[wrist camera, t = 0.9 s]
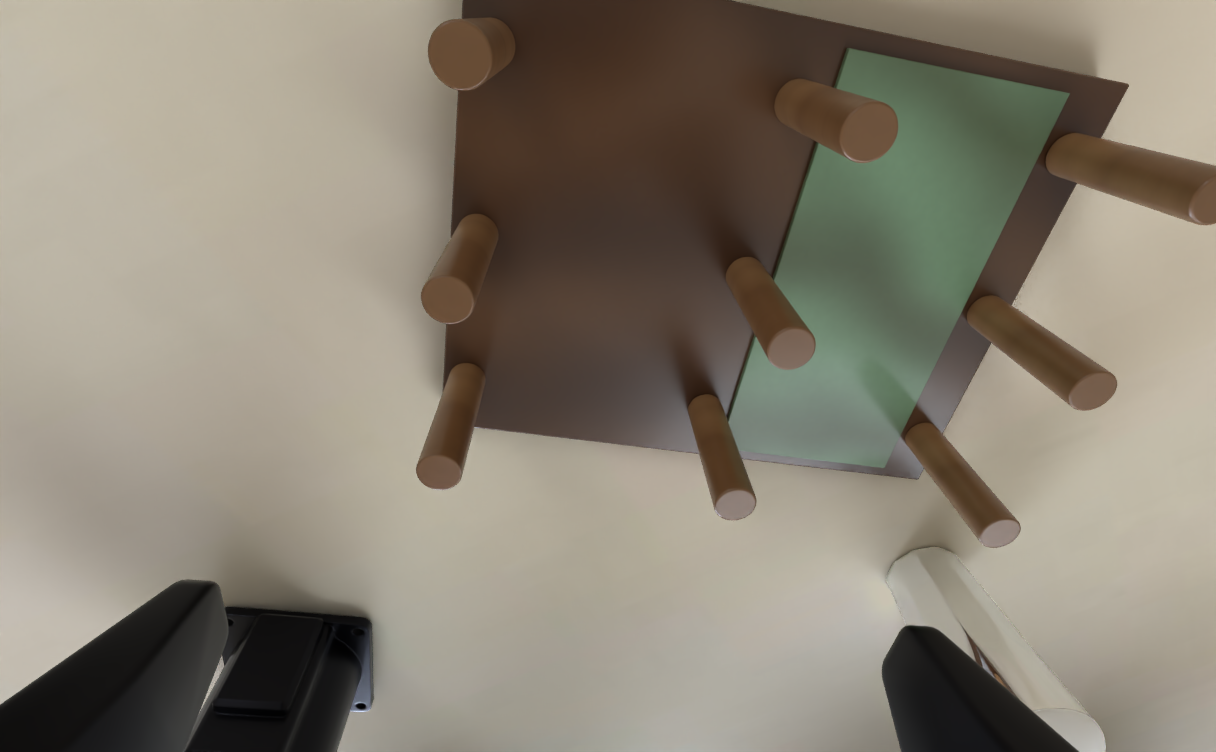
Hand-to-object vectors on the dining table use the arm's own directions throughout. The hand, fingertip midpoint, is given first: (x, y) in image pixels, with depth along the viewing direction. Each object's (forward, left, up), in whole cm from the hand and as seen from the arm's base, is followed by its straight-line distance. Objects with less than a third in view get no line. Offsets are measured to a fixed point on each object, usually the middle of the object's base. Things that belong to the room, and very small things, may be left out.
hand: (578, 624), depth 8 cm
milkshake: (-12, -17, -14) cm, 25 cm away
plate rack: (+1, -5, -14) cm, 15 cm away
